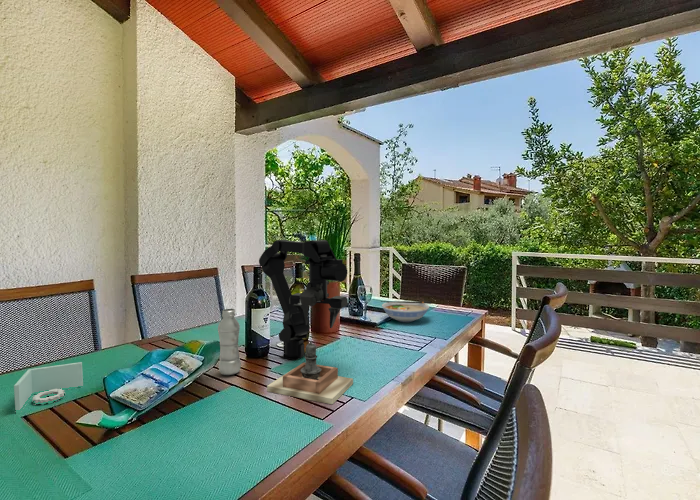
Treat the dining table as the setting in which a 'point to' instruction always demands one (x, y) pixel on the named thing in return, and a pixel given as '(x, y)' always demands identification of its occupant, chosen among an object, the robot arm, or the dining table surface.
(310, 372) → the salt shaker
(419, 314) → the ramen bowl
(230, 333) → the plastic bottle
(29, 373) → the right angle wall
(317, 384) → the shaker holder
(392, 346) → the dining table surface
